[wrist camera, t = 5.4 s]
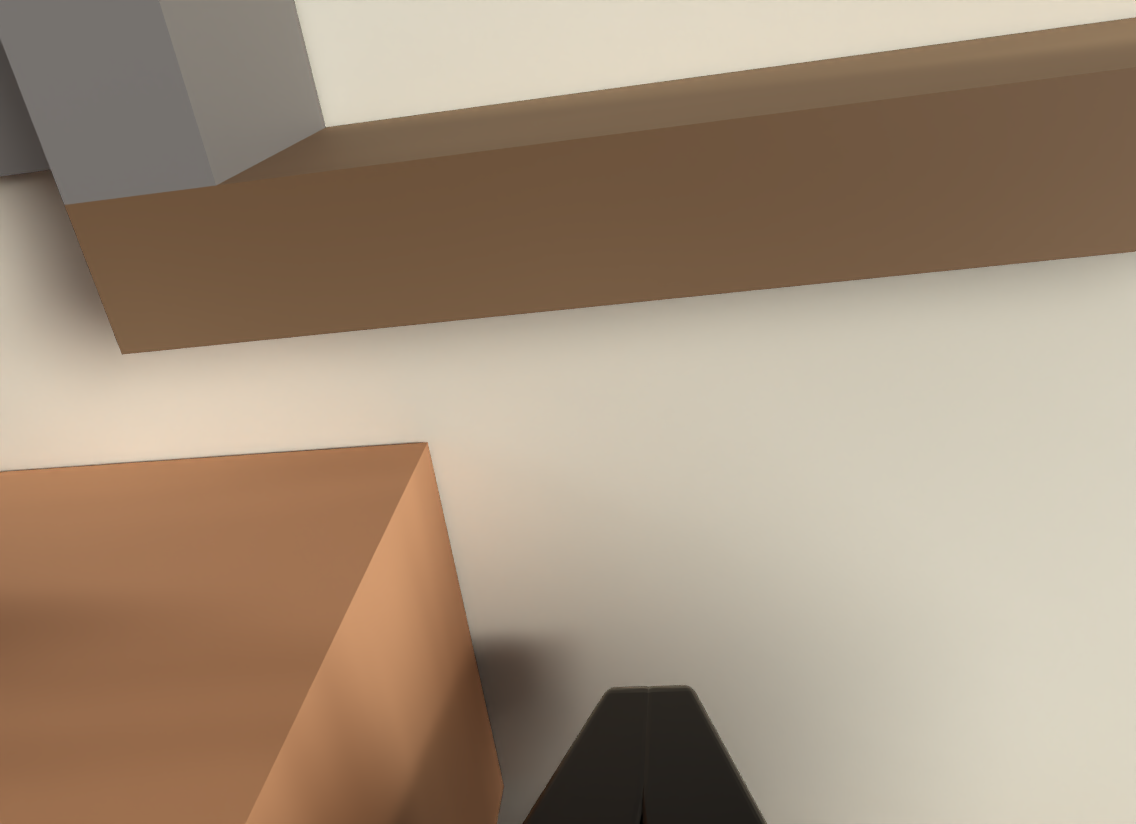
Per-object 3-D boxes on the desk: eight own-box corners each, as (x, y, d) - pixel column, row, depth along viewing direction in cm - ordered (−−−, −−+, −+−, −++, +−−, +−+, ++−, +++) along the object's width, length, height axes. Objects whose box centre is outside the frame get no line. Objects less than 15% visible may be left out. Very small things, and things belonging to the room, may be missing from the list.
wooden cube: (503, 786, 10) (405, 1306, 6) (141, 791, 11) (-155, 1268, 7) (427, 442, 8) (213, 887, 4) (-9, 473, 9) (-538, 884, 5)
